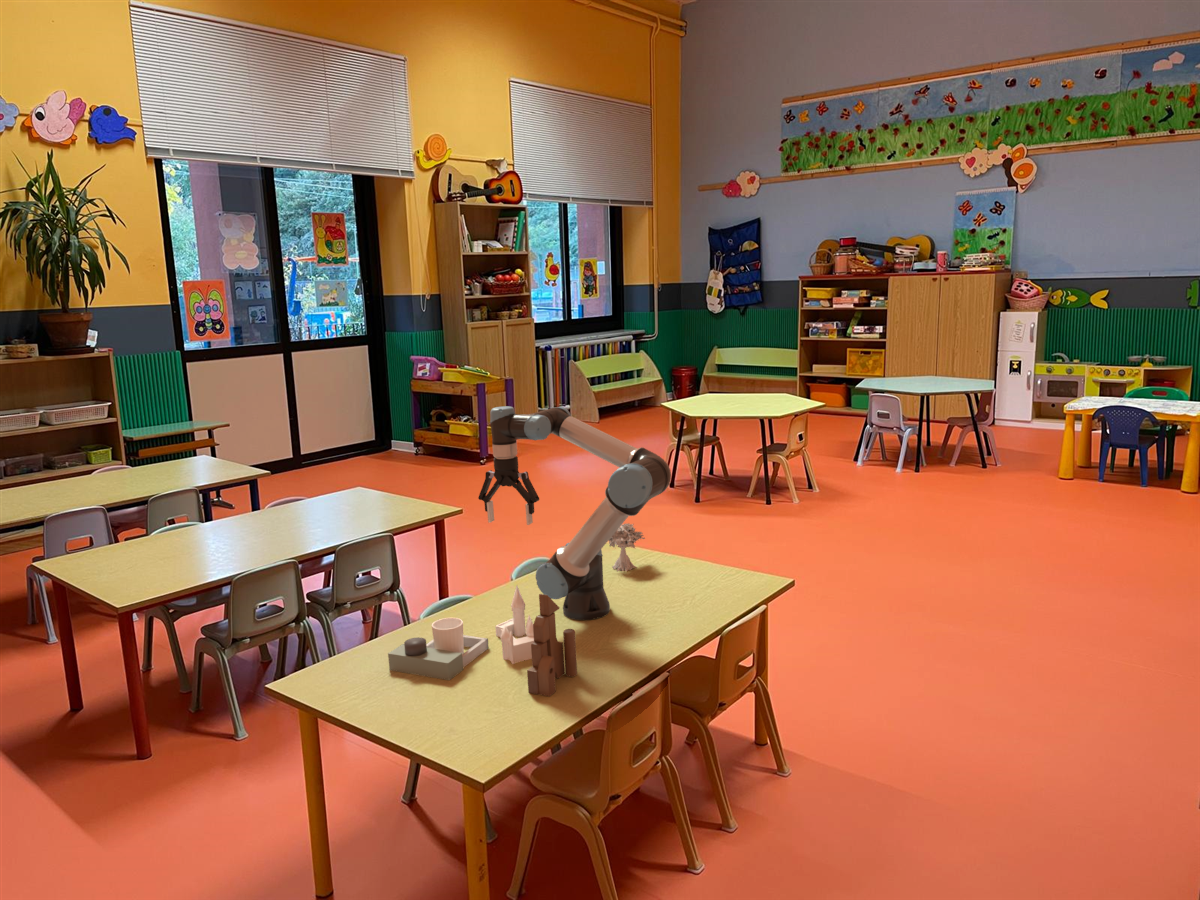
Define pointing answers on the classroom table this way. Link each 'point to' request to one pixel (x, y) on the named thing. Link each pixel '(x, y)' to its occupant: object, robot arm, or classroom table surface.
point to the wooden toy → (550, 651)
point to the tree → (624, 545)
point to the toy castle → (516, 632)
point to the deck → (434, 657)
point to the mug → (448, 634)
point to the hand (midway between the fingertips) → (510, 522)
